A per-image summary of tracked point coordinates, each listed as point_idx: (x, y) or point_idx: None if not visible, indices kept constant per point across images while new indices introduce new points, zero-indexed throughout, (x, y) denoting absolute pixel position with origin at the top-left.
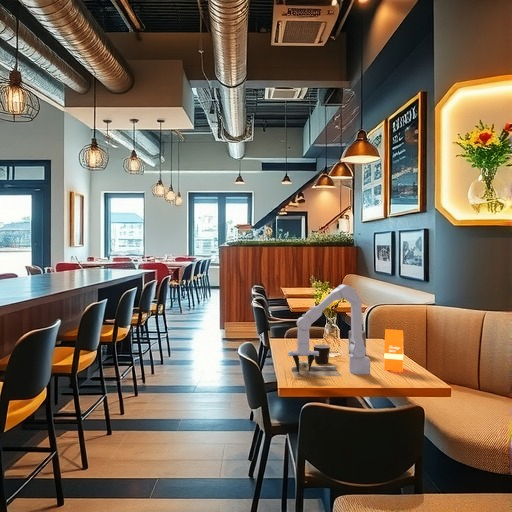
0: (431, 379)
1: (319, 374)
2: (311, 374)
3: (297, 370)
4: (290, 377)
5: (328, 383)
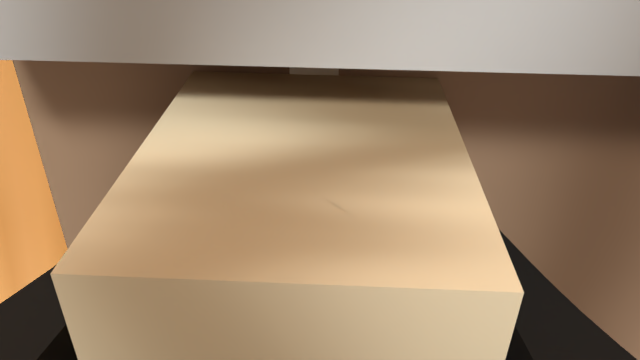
0: None
1: (635, 354)
2: None
3: None
4: (46, 240)
5: None
